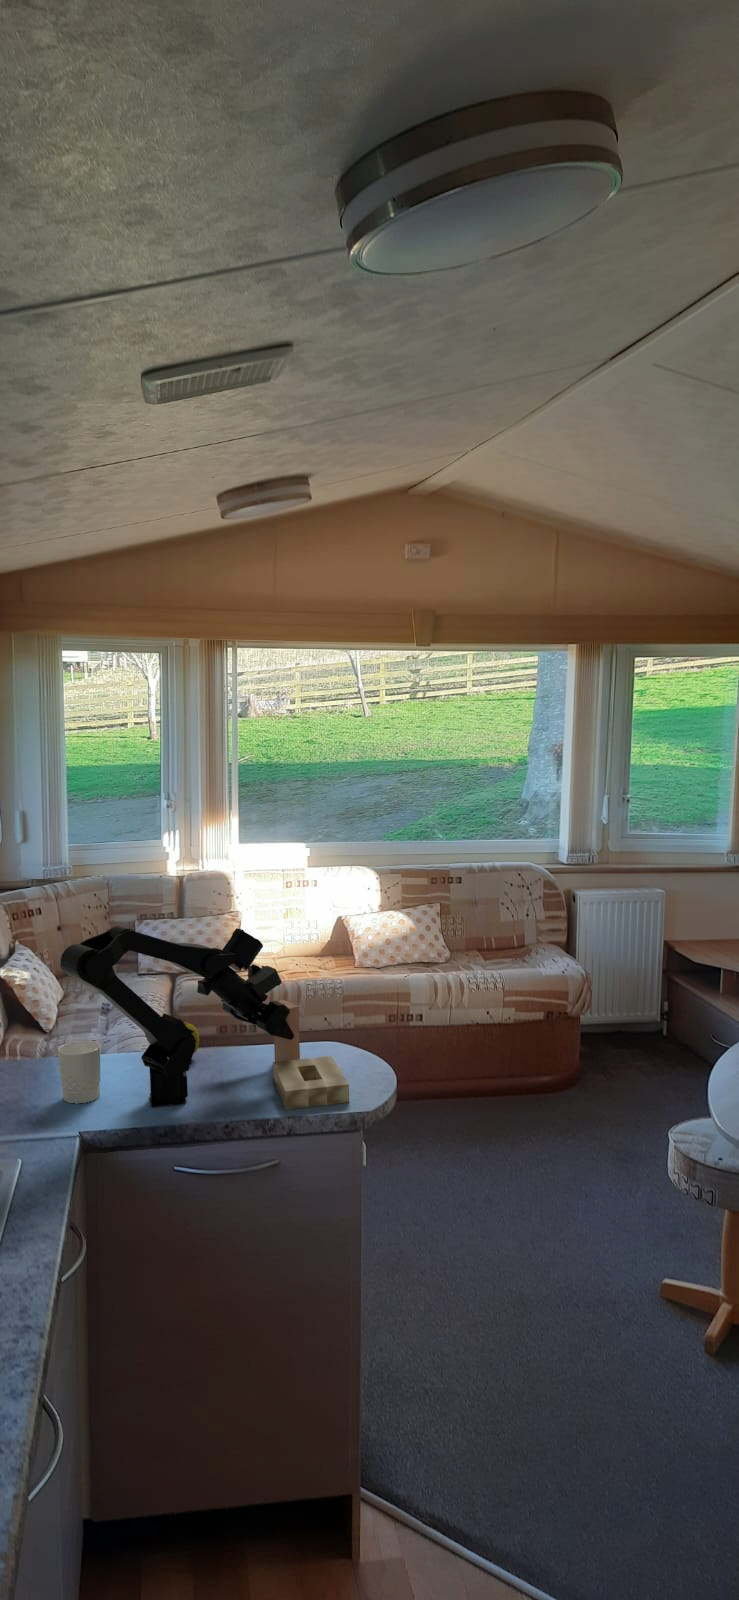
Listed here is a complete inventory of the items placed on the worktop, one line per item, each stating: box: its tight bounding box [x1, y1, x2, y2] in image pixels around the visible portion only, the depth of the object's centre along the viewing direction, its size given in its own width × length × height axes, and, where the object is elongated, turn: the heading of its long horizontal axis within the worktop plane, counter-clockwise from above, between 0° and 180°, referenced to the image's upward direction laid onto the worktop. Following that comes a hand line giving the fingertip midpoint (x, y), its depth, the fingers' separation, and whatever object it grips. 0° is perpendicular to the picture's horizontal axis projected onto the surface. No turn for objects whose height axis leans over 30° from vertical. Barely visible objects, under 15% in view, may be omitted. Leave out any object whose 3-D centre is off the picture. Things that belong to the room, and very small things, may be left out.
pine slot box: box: [272, 1055, 350, 1110], centre depth 200 cm, size 12×16×4 cm
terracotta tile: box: [273, 999, 301, 1062], centre depth 214 cm, size 2×6×13 cm, turn 36°
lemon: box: [183, 1021, 200, 1055], centre depth 219 cm, size 6×6×8 cm
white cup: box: [57, 1040, 102, 1104], centre depth 198 cm, size 8×8×10 cm
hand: (281, 1032), depth 213 cm, fingers open, 9 cm apart
